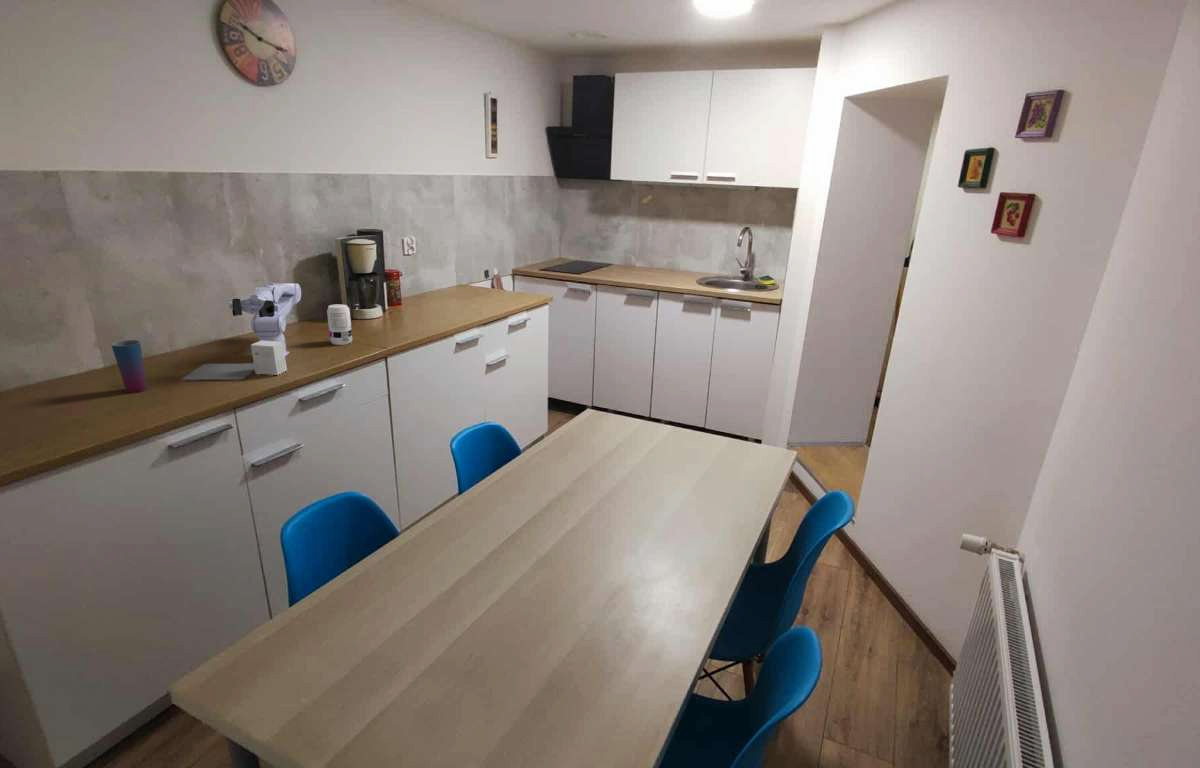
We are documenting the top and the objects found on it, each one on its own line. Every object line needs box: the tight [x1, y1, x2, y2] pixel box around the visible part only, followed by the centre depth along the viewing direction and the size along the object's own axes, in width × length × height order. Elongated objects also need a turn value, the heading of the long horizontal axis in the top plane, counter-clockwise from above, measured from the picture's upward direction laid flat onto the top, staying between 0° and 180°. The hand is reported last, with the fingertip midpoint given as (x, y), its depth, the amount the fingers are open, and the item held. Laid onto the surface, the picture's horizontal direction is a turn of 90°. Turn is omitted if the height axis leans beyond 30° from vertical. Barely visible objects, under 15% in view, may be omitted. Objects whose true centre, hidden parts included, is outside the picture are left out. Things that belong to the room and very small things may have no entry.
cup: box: [110, 339, 148, 394], centre depth 178 cm, size 7×7×15 cm
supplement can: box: [326, 303, 353, 346], centre depth 235 cm, size 8×8×15 cm
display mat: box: [181, 363, 255, 382], centre depth 198 cm, size 16×18×1 cm
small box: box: [250, 341, 288, 376], centre depth 199 cm, size 8×6×10 cm
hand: (247, 313), depth 190 cm, fingers open, 7 cm apart
